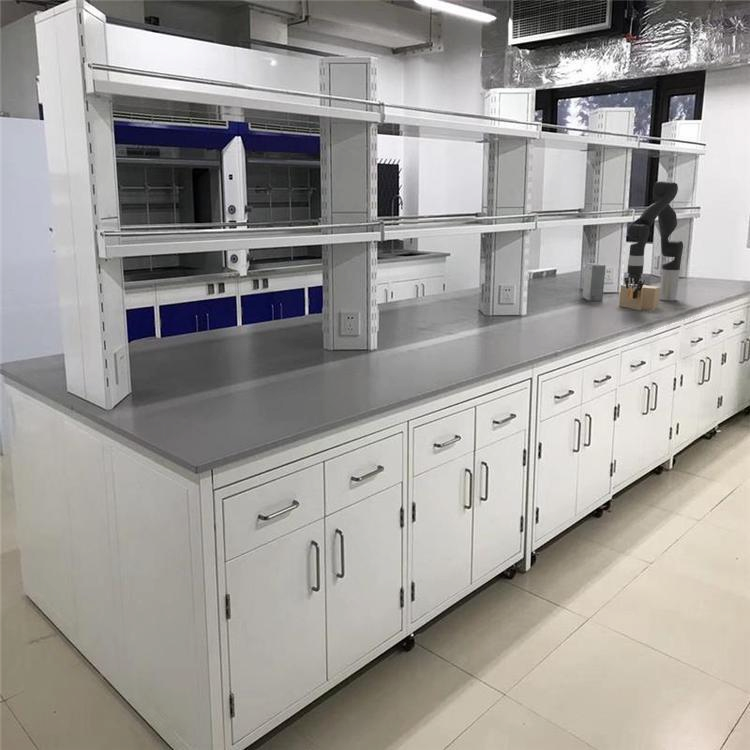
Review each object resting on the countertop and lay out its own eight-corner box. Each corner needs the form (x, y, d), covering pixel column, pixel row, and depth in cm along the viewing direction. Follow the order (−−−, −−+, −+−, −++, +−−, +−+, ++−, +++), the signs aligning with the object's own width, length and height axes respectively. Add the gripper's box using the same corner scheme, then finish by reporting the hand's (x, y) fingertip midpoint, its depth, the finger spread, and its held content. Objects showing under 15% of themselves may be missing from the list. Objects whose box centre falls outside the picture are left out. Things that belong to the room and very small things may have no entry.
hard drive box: (602, 301, 400) (606, 265, 395) (589, 301, 400) (592, 265, 395) (595, 297, 415) (598, 262, 410) (581, 297, 415) (584, 262, 410)
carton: (625, 304, 391) (627, 283, 388) (658, 307, 380) (660, 286, 377) (619, 306, 384) (620, 285, 381) (653, 309, 373) (655, 288, 370)
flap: (620, 305, 383) (622, 284, 380) (641, 310, 368) (643, 288, 365) (612, 305, 381) (614, 285, 378) (633, 310, 366) (635, 289, 364)
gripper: (651, 265, 358) (647, 299, 363) (633, 262, 371) (630, 295, 376) (638, 266, 356) (635, 300, 361) (620, 263, 369) (618, 296, 373)
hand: (632, 297), depth 368 cm, fingers closed on flap, 2 cm apart
